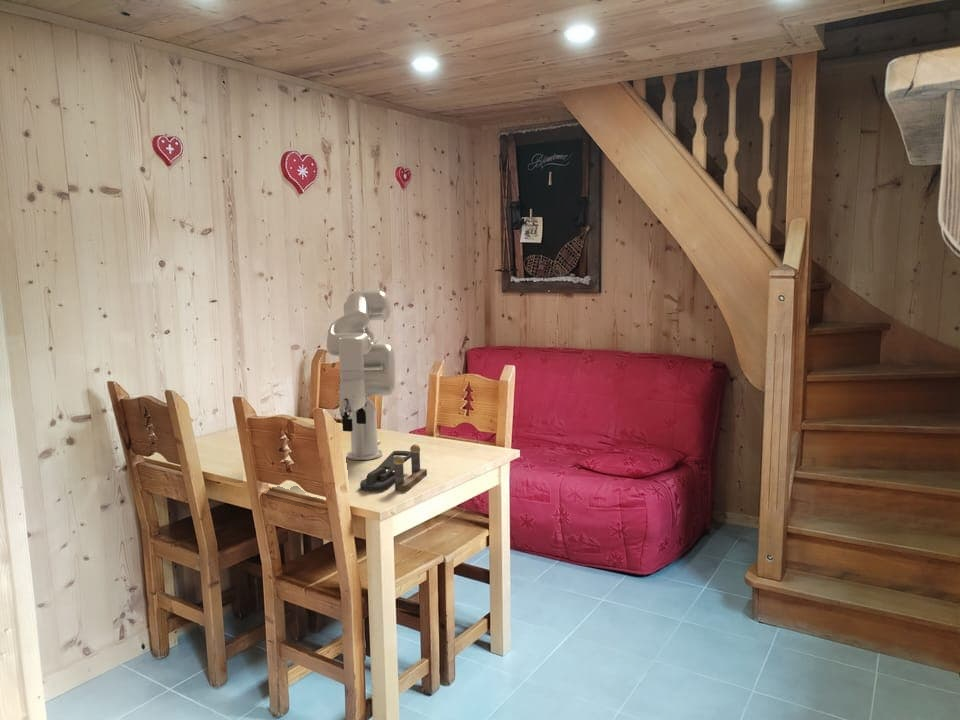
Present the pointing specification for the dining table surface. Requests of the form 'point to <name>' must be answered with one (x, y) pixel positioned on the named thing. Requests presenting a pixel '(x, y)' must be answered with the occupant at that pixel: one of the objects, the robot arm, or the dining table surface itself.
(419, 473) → the peg stop rail
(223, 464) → the dining table surface
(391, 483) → the zipper pull
